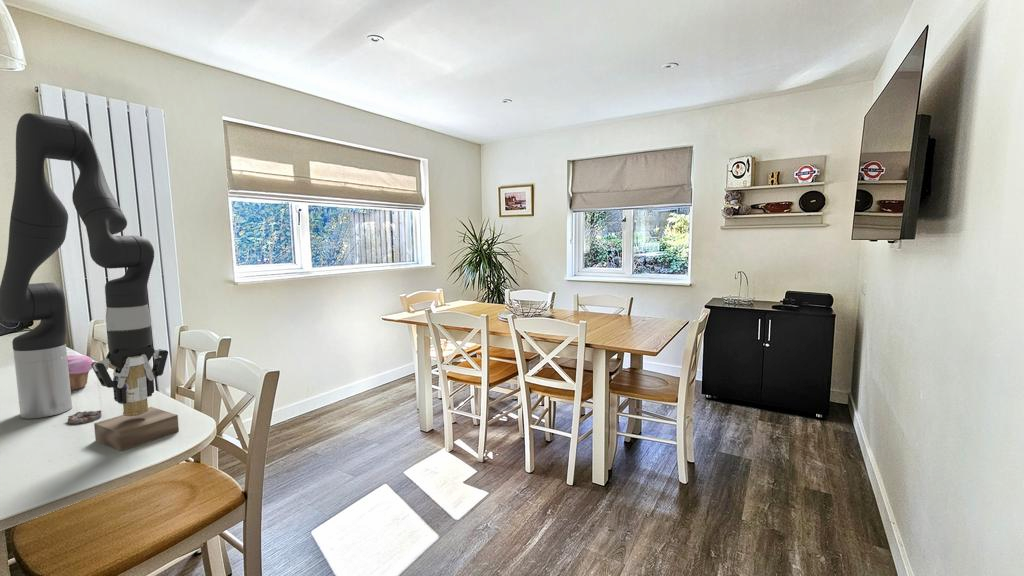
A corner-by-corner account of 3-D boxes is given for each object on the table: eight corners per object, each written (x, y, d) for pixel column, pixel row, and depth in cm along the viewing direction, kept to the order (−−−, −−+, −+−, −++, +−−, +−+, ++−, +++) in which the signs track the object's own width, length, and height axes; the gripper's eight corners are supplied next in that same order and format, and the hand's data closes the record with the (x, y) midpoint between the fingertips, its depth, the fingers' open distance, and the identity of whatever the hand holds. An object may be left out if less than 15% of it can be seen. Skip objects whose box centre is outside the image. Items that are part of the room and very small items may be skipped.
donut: (102, 424, 109) (101, 416, 109) (58, 431, 105) (57, 423, 105) (108, 412, 116) (107, 404, 116) (66, 419, 112) (65, 411, 111)
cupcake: (58, 386, 133) (54, 354, 132) (97, 381, 138) (94, 350, 137) (51, 395, 126) (47, 361, 125) (93, 389, 131) (90, 356, 130)
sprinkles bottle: (117, 416, 99) (112, 358, 98) (135, 409, 104) (130, 352, 102) (138, 417, 99) (133, 358, 98) (154, 409, 104) (150, 353, 102)
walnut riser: (95, 440, 99) (94, 423, 99) (152, 422, 109) (151, 406, 109) (122, 451, 95) (120, 433, 94) (178, 431, 105) (177, 414, 104)
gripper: (156, 319, 107) (161, 387, 109) (79, 329, 94) (86, 407, 96) (174, 322, 104) (179, 392, 106) (97, 333, 91) (104, 413, 93)
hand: (135, 399), depth 101 cm, fingers closed on sprinkles bottle, 4 cm apart
